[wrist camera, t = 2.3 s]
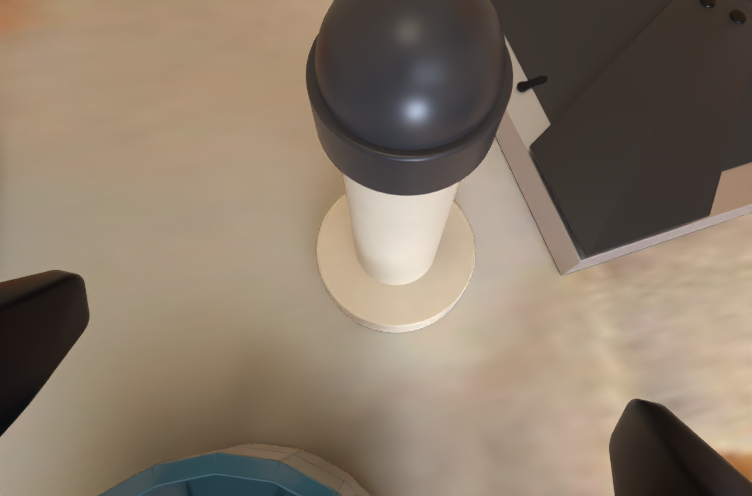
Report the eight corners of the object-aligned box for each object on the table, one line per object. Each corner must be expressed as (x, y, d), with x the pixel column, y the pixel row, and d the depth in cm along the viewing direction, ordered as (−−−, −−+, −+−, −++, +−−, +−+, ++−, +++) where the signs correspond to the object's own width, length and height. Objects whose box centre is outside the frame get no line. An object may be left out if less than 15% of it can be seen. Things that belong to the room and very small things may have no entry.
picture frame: (561, 276, 20) (974, 138, 22) (587, 255, 18) (1055, 100, 20) (430, 0, 25) (778, -95, 27) (436, -49, 23) (822, -151, 24)
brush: (486, 316, 20) (690, 129, 7) (333, 346, 20) (230, 211, 6) (449, 179, 22) (550, -173, 9) (310, 204, 22) (195, -122, 8)
